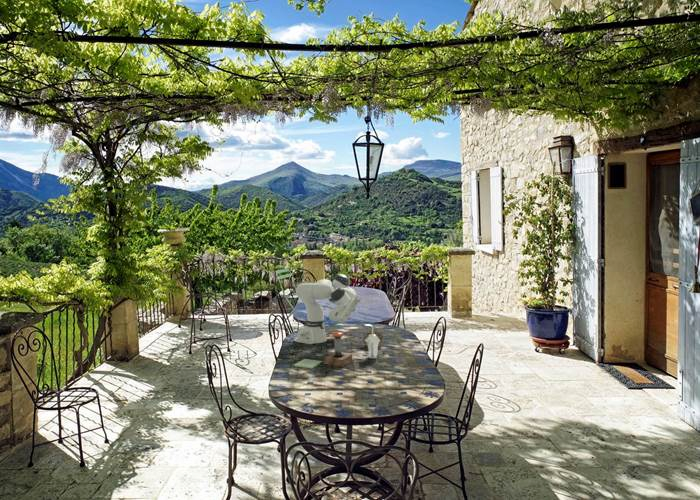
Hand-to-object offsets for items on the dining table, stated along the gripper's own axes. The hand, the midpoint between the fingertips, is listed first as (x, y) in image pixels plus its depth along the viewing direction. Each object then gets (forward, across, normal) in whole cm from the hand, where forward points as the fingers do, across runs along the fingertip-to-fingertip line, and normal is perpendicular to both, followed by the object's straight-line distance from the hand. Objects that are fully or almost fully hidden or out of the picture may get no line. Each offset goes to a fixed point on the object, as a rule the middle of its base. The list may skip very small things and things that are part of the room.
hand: (355, 305), depth 318 cm
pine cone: (-20, +5, -28) cm, 34 cm away
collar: (-4, +34, -11) cm, 36 cm away
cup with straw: (0, +18, -26) cm, 32 cm away
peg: (-4, +34, -11) cm, 36 cm away
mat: (-12, +43, +1) cm, 45 cm away
